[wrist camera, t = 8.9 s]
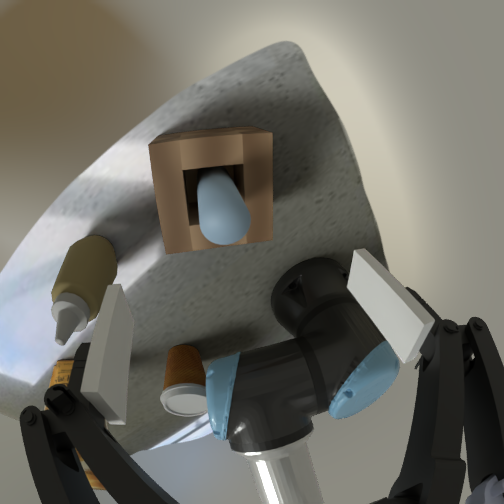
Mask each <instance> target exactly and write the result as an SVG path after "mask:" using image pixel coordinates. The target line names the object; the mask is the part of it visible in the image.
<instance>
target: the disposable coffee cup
mask: <svg viewBox="0 0 504 504" xmlns="http://www.w3.org/2000/svg"><path fill="white" fill-rule="evenodd" d="M160 400H161V403H162V404H163V406H164V408H165V410H166V411H168V412H169V413H171V414H174V415H178V416H197V415H201V414H204V413H206V412H208V408H207V399H206V375H205V372H204V368H203V365H202V361H201V358H200V354H199V351H198V350H197V349H196V348H194V347H192V346H189V345H178V346H175V347H173V348H171V349H170V350H169V352H168V359H167V366H166V373H165V381H164V389H163V392H162V395H161V397H160Z"/></svg>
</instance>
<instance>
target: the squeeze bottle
mask: <svg viewBox="0 0 504 504" xmlns="http://www.w3.org/2000/svg"><path fill="white" fill-rule="evenodd" d="M117 266H118V265H117V260H116V255H115V251H114V248H113V246H112V244H111V243H110V242H109V241H108V240H107V239H105V238H104V237H102V236H98V235H92V236H88V237H85V238H83V239H81V240H78V241H77V242H75V243H74V244H73V245H72V246H70V248H69V250H68V253H67V255H66V257H65V259H64V262H63V264H62V266H61V269H60V271H59V274H58V276H57V279H56V281H55V284H54V287H53V289H52V292H51V294H52V301H53V306H52V309H51V312H52V316H53V318H54V320H55V321H56V322H57V327H56V337H55V341H56V343H58V344H59V345H65V344H66V342H67V341H68V339H69V338H70V336H71V335H72V333H73V332H79V331H82V330H84V329H85V328H86V326H87V324H88V322H90V321H91V320H93V319H95V318H96V317H97V315H98V313H99V311H100V308H101V305H102V302H103V299H104V295H105V292H106V289H107V286H108V285H112V284H113V282H114V280H115V278H116V276H117Z"/></svg>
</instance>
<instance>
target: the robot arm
mask: <svg viewBox="0 0 504 504" xmlns="http://www.w3.org/2000/svg"><path fill="white" fill-rule="evenodd" d="M357 301H358V302H359V303H358V302H357ZM360 305H361V306H362V307H363V308H362V307H361V306H360ZM271 307H272V310H273V312H274V315H275V317H276V319H277V321H278V322H279V323H280V324H281V325H282V326H283V327H284V328H285V329H286V330H287V331H288V332H289V333H290V334H292V335H293V336H294V337H295V338H294V339H290V340H287V341H283V342H280V343H276V344H272V345H269V346H265V347H261V348H257V349H254V350H250V351H246V352H237V353H236V354H234V355H231V356H227V357H224V358H220V359H217V360H215V361H213V362H212V363H211V364H210V366H209V367H208V370H207V375H206V399H207V408H208V415H209V420H210V424H211V428H212V430H213V433H214V436H215V437H216V438H217V439H219V440H226V439H228V440H229V443H230V446H231V449H232V451H233V452H234V453H237V454H239V455H241V456H243V457H245V458H246V459H247V463H248V465H249V468H250V471H251V474H252V477H253V480H254V483H255V486H256V488H257V491H258V494H259V497H260V499H261V502H262V504H324V502H323V498H322V495H321V491H320V488H319V484H318V481H317V477H316V474H315V471H314V467H313V464H312V460H311V457H310V453H309V450H308V446H307V443H306V442H307V440H308V439H309V437H310V436H311V434H312V433H313V430H314V427H313V423H312V420H311V417H312V416H314V415H317V414H320V413H322V412H325V411H328V412H329V414H330V415H331V416H333V418H335V419H342V418H347V417H350V416H352V415H354V414H356V413H358V412H360V411H362V410H363V409H365V408H366V407H368V406H369V405H371V404H372V403H373V402H374V401H376V400H377V399H378V398H379V397H380V396H381V395H383V394H384V393H385V392H386V390H387V389H388V388H389V387H390V386H391V385H392V383H393V382H394V380H395V379H396V377H397V375H398V372H399V368H400V364H399V360H398V358H397V356H396V354H395V353H394V351H393V349H394V350H395V352H396V353H397V355H398V356H399V358H400V359H401V360H402V362H403V363H407V362H409V361H411V360H413V359H415V357H416V356H417V354H418V352H419V351H420V353H421V354H422V356H421V358H420V359H419V361H418V363H417V364H416V366H415V369H417V367H418V366H419V365H420V367H419V378H418V387H417V395H416V402H415V409H414V415H413V421H412V426H411V432H410V436H409V441H408V445H407V450H406V454H405V458H404V462H403V465H402V469H401V472H400V475H399V477H398V479H397V480H396V482H395V483H394V485H393V486H392V488H391V491H390V494H389V497H388V499H387V497H385V498H383V499H380V500H378V501H375V502H373V503H370V504H459V502H460V497H461V493H462V488H463V483H464V478H465V472H466V463H465V461H464V460H462V459H461V458H460V453H461V443H462V434H463V426H464V433H465V442H466V450H467V465H468V476H469V483H470V488H471V492H472V494H471V495H470V496H469V497H468V498H467V499H466V503H465V504H504V366H503V364H502V361H501V358H500V356H499V353H498V350H497V348H496V346H495V343H494V341H493V338H492V336H491V334H490V331H489V329H488V327H487V325H486V323H485V322H484V321H483V320H482V319H480V318H478V317H472V318H470V320H469V322H468V323H467V325H457V324H456V323H455V322H453V321H451V320H447V319H445V320H442V319H441V318H440V317H439V316H438V315H437V314H436V312H435V311H434V310H433V309H432V308H431V307H430V306H429V305H428V304H426V302H425V301H424V300H423V299H421V297H420V296H419V295H418V294H417V293H416V292H415V291H414V290H412V289H410V288H409V287H406V288H405V287H404V286H403V285H402V284H401V283H400V282H399V281H398V280H397V279H395V277H394V276H393V275H392V274H391V273H390V272H389V271H388V270H387V269H386V268H385V267H384V266H383V265H382V264H381V263H379V262H378V261H377V260H376V259H375V258H374V257H373V256H372V255H371V254H370V253H369V252H368V251H367V250H366V249H365V248H363V249H357V250H354V253H353V259H352V264H351V270H350V275H349V274H348V273H347V272H346V270H345V269H344V268H343V267H342V266H341V265H340V264H339V263H338V262H336V261H334V260H332V259H328V258H314V259H310V260H307V261H304V262H302V263H299V264H298V265H296V266H294V267H293V268H291V269H290V270H288V271H287V272H286V273H285V274H284V275H283V276H282V277H281V278H280V280H279V281H278V282H277V284H276V286H275V287H274V290H273V292H272V296H271ZM363 309H364V310H365V311H366V312H365V311H364V310H363ZM366 313H367V314H368V315H369V316H368V315H367V314H366ZM370 318H371V319H372V320H371V319H370ZM373 322H374V323H375V324H374V323H373ZM134 324H135V321H134V318H133V316H132V313H131V311H130V308H129V305H128V303H127V300H126V297H125V295H124V292H123V289H122V286H121V284H114V285H108V286H107V289H106V292H105V295H104V299H103V302H102V305H101V308H100V312H99V315H98V318H97V322H96V325H95V329H94V333H93V337H92V341H91V343H82V344H81V345H80V346H79V348H78V349H77V351H76V354H75V358H74V362H73V365H72V369H71V373H70V378H69V382H68V387H67V386H66V385H64V384H55V385H53V386H51V387H50V388H49V389H48V390H47V391H46V393H45V396H44V402H45V406H46V407H47V408H48V410H44V411H40V410H39V409H38V408H37V407H35V406H28V407H26V408H24V410H23V411H22V412H21V415H20V426H21V432H22V436H23V442H24V446H25V451H26V455H27V458H28V462H29V466H30V470H31V473H32V476H33V480H34V483H35V486H36V488H37V491H38V494H39V497H40V500H41V502H42V504H100V503H99V501H98V499H97V497H96V495H95V493H94V491H93V489H92V487H91V485H90V483H89V480H88V478H87V476H86V474H85V471H84V469H83V467H82V464H81V462H80V459H79V457H78V454H77V452H76V450H77V451H78V453H79V454H80V456H81V457H82V459H83V460H84V461H85V463H86V464H87V466H88V467H89V468H90V470H91V471H92V472H93V474H94V475H95V476H96V478H97V479H98V480H99V482H100V483H101V484H102V485H103V487H104V488H105V489H106V490H107V491H108V493H109V494H110V495H111V496H112V497H113V498H114V499H115V501H116V502H117V503H118V504H179V503H178V502H177V501H176V500H175V499H173V498H172V497H171V496H170V495H169V494H168V493H167V492H165V491H164V490H163V489H162V488H161V487H160V486H159V485H158V484H157V483H156V482H155V481H154V480H153V479H152V478H151V477H149V475H148V474H147V473H145V471H143V469H142V468H141V467H140V466H139V465H138V464H137V463H136V462H135V461H134V460H133V459H132V458H131V457H130V456H129V454H128V453H127V452H126V451H125V450H124V449H123V448H122V447H121V445H120V444H119V443H118V442H117V441H116V439H115V438H114V437H113V436H112V435H111V433H110V432H109V431H108V430H107V428H106V427H105V426H104V424H105V419H106V420H107V421H108V422H109V423H110V424H126V407H127V390H128V377H129V366H130V356H131V347H132V339H133V331H134ZM376 326H377V327H378V328H377V327H376ZM379 330H380V331H381V332H380V331H379ZM382 334H383V335H384V336H383V335H382ZM385 338H386V339H385ZM391 346H392V347H391ZM392 348H393V349H392ZM473 353H474V356H475V358H474V359H472V357H471V356H472V354H473ZM75 448H76V449H75Z"/></svg>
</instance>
